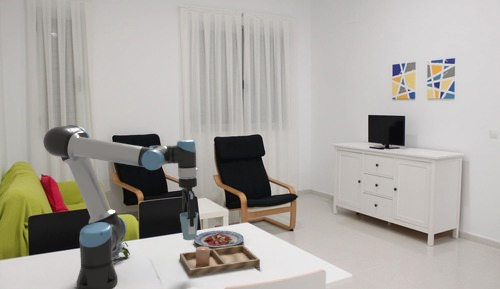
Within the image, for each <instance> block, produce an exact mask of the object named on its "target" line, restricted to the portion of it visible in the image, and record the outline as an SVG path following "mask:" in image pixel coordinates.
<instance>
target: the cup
mask: <svg viewBox="0 0 500 289" xmlns="http://www.w3.org/2000/svg"><path fill="white" fill-rule="evenodd" d="M195 212H196V211H195ZM187 218H188V212H181V213H180V214H179V221H180V224H181V225H180V228H181V232H182V239H183V240H184V241H194V239H196V236H197V235H198V234H197V233H198V220H199V212H196V218H195V234H188V219H187Z"/></svg>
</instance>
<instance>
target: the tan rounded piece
mask: <svg viewBox="0 0 500 289" xmlns="http://www.w3.org/2000/svg"><path fill="white" fill-rule="evenodd" d="M210 249H211V247H207V246H202V245H201V246H199V247H198V246H197V247H196V248H195V251H196V266H198V267H206V266H209V265H210Z"/></svg>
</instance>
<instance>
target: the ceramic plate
mask: <svg viewBox="0 0 500 289" xmlns="http://www.w3.org/2000/svg"><path fill="white" fill-rule="evenodd" d="M244 239H245V237H244V235H242V234H241V233H238V232H236V231H231V230H209V231H204V232H201V233H198V234H197V236H196V239H194V240H193V241H194V242H195V244H198V245H199V246H201V247H202V246H204V247H209V248H225V247H232V246H238V244H241V243H242V242H244Z"/></svg>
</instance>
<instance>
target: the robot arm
mask: <svg viewBox="0 0 500 289" xmlns="http://www.w3.org/2000/svg"><path fill="white" fill-rule="evenodd" d="M43 147H44V149H45V151H47V153H48V154H50V155H51V156H55V157H60V158H61V161H62V162H63V163H64V164H66V165H68V166H69V169H70V171H71V174H72V177H73V178H74V181H75V183H76V185H77V188H78V191H79V193H80V195H81V197H82V200H83V202H84V205H85V207H86V209H87V211H88V214H89V216H90V217H89V220H88V224H87V225H84V226H83V227H82V228H81V229H80V231H79V240H78V241H79V249H80V250H79V252H80V269H79V272H78V276H77V279H76V289H113V288H114V287H116V286H117V285H118V279H119V278H118V274H117V272H116V269H115V267H114V263H113V259H112V249H113V248H114V247H115V246H116V245H117V244H119V243H120V242H121V241H122V240H124V237H125V236H126V235H127V234H126V233H127V224H126V221H125V220H124V219H123V218H122V217H121V216H119V215H118V212H117V211H116V210H115V209H112V208H111V206H110V203H109V201H108V199H107V197H106V194H105V191H104V189H103V186H102V185H101V182H100V179H99V178H98V175H97V172H96V170H95V167H94V166H93V163H92V160H98V161H105V162H112V163H117V164H124V165H130V166H136V167H142V168H145V169H146V170H149V171H155V170H159V169H160V168H161V167H162V166H164V165H167V164H169V165H170V164H177V175H178V187H179V188H180V189H181V192H182V196H181V197H182V213H184V212H188V218H187V219H188V234H195V218H196V201H195V200H196V198H195V196H196V195H195V192H194V191H193V188H196V187H198V178H197V171H199V170H198V168H197V150H196V142H195V141H194V140H192V139H183V140H182V139H181V140H178V141H176V145H160V144H159V145H157V144H156V145H150V146H149V147H146V146H145V147H144V146H140V145H133V144H127V143H121V142H115V141H108V140H102V139H97V138H91V137H90V134H89V133H88V132H87V130H86V129H84V127H82V126H80V125H76V124H75V125H73V124H70V125H64V126H55V127H53V128H50V129H49V130H48V131H47V132H46V133H45V134H44V137H43ZM91 159H92V160H91Z"/></svg>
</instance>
